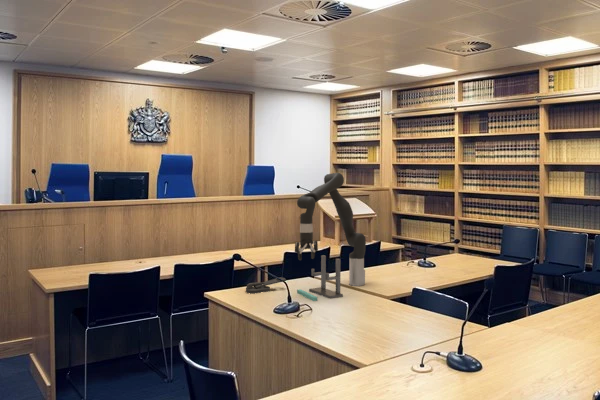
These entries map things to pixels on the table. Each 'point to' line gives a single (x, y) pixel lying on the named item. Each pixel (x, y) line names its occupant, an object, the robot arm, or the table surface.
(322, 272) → the hook rack
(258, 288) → the dark grey elongated piece
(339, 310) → the table surface
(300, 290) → the teal rail
